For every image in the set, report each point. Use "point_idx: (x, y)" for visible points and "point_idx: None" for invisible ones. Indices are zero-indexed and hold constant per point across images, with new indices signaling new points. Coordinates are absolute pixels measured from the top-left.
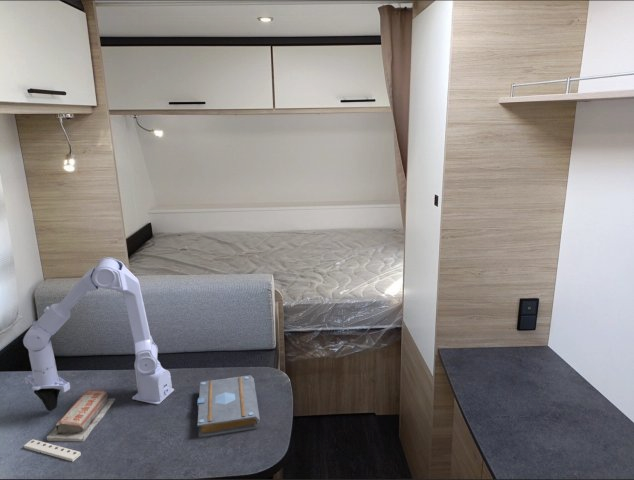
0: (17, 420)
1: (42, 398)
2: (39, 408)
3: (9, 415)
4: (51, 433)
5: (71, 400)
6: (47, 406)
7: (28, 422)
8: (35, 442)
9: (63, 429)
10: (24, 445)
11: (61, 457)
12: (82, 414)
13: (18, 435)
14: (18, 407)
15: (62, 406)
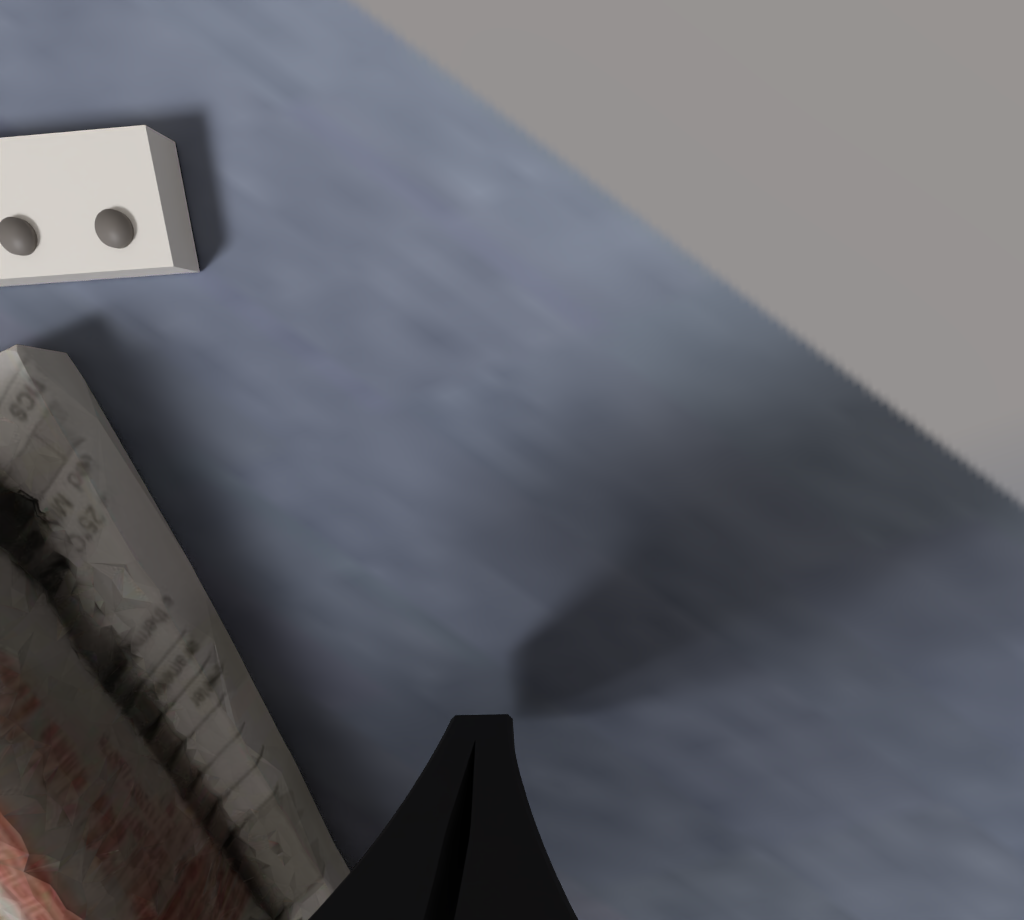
0: (773, 487)
1: (478, 897)
2: (715, 719)
3: (968, 521)
4: (41, 423)
5: None
6: (459, 761)
7: (603, 506)
8: (75, 234)
9: None
10: (140, 130)
11: None
12: None
13: (486, 289)
14: (990, 660)
15: None
